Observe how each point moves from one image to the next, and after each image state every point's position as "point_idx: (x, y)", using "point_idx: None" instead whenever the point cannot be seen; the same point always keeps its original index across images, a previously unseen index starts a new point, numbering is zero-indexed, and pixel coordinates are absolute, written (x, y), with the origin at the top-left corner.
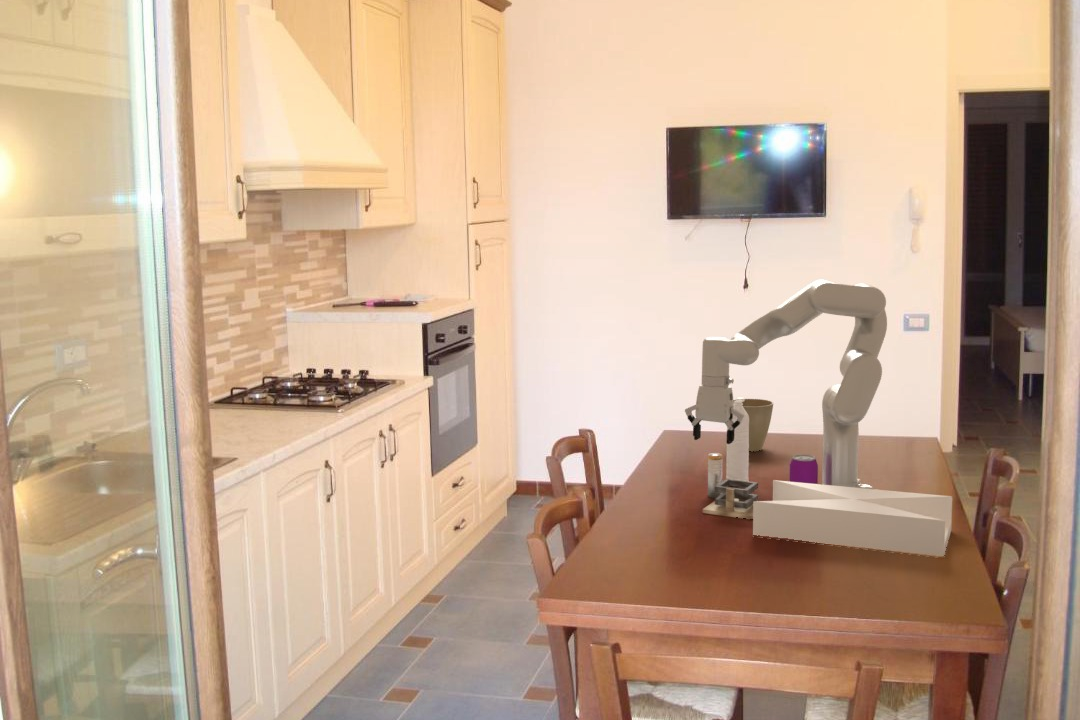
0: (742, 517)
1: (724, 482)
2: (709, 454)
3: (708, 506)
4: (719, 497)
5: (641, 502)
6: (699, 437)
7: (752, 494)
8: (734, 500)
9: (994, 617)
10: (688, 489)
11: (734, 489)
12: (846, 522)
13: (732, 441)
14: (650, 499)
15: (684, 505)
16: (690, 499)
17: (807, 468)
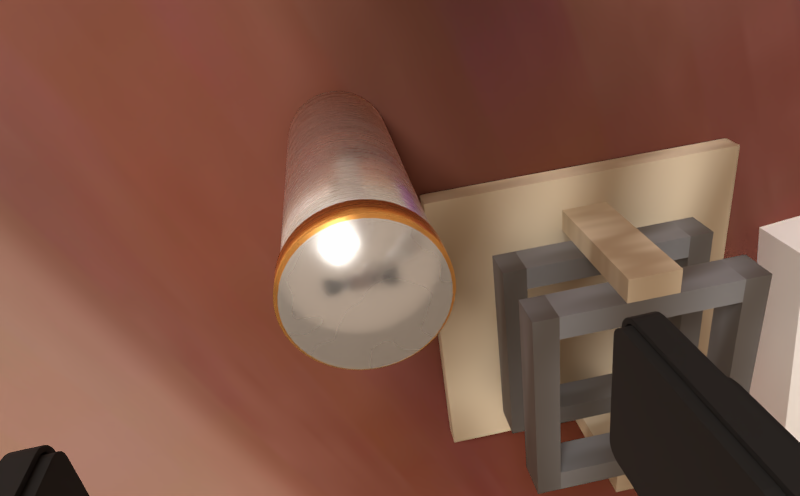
0: None
1: (556, 402)
2: (301, 326)
3: (456, 396)
4: (521, 398)
5: (85, 478)
6: (73, 492)
7: (679, 244)
8: (533, 230)
9: None
10: (74, 107)
11: None
12: None
13: (657, 319)
14: (75, 419)
15: (304, 393)
16: (257, 293)
17: None
